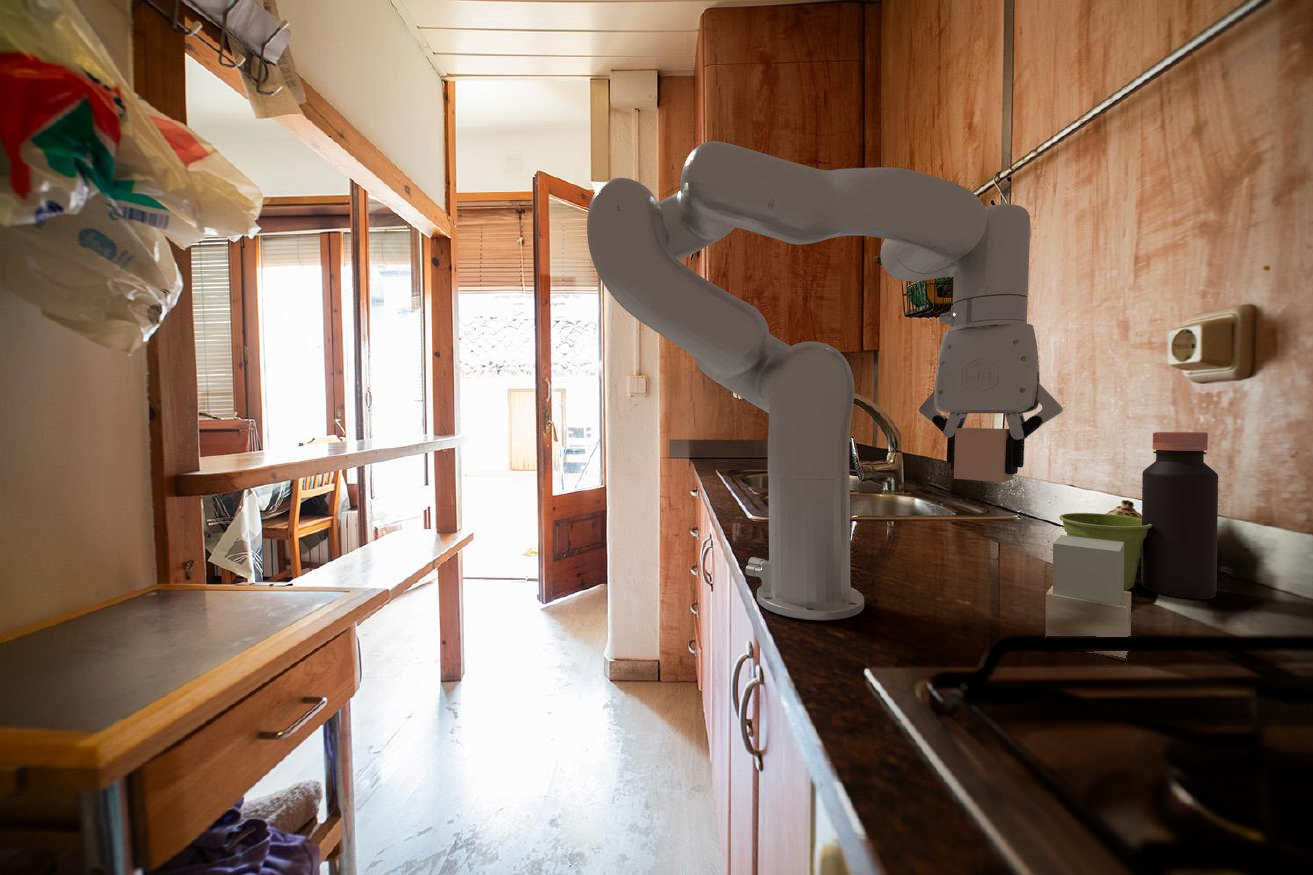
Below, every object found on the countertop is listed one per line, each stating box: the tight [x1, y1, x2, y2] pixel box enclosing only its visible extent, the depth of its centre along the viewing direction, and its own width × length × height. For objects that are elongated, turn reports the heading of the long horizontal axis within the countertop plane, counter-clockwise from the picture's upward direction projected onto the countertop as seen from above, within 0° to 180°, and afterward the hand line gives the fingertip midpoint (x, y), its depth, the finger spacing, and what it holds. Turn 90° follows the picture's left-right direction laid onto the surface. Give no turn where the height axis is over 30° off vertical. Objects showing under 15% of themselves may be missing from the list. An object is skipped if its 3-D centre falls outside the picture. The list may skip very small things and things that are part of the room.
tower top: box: [1052, 534, 1124, 605], centre depth 53 cm, size 5×5×5 cm
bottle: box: [1140, 431, 1219, 601], centre depth 67 cm, size 7×7×20 cm
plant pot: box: [1058, 512, 1152, 591], centre depth 71 cm, size 9×9×9 cm
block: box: [953, 427, 1014, 483], centre depth 64 cm, size 5×5×6 cm
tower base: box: [1045, 584, 1132, 659], centre depth 53 cm, size 6×6×5 cm
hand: (983, 470), depth 64 cm, fingers closed on block, 5 cm apart
